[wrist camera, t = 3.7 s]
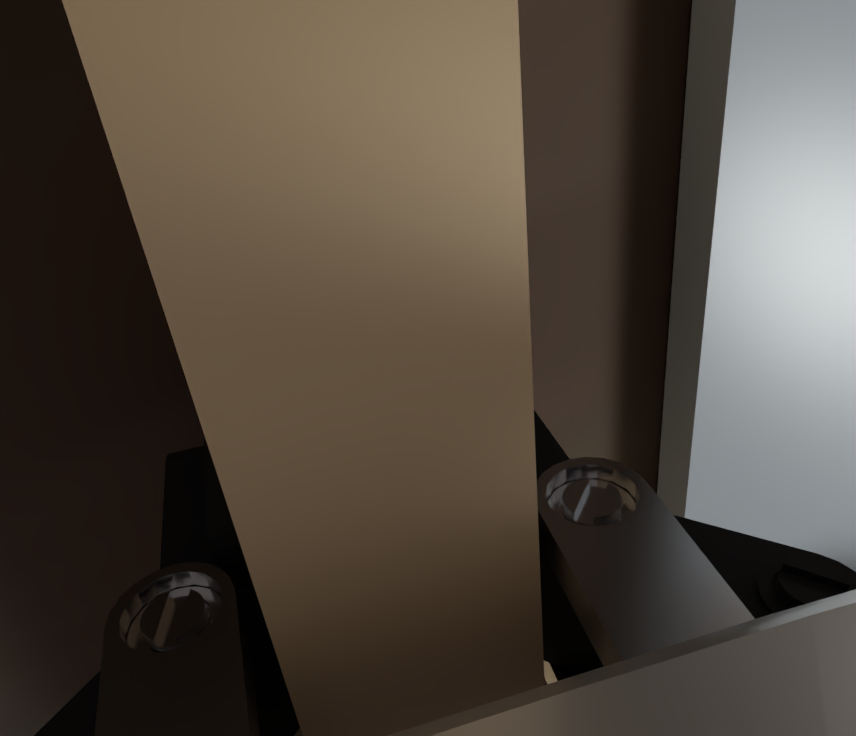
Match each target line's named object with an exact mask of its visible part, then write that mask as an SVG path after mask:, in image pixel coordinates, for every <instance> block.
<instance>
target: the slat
mask: <svg viewBox="0 0 856 736" xmlns="http://www.w3.org/2000/svg"><path fill="white" fill-rule="evenodd" d="M62 2H63V5H64V8H65V11H66V14H67V17H68V20H69V24H70V27H71V30H72V33H73V36H74V39H75V42H76V45H77V48H78V51H79V54H80V57H81V60H82V63H83V66H84V69H85V72H86V75H87V78H88V82H89V85H90V88H91V91H92V94H93V97H94V100H95V103H96V106H97V109H98V112H99V115H100V118H101V121H102V124H103V127H104V130H105V133H106V136H107V140H108V143H109V146H110V149H111V152H112V155H113V158H114V161H115V164H116V167H117V170H118V173H119V176H120V179H121V182H122V185H123V188H124V191H125V194H126V197H127V201H128V204H129V207H130V210H131V213H132V216H133V219H134V222H135V225H136V228H137V231H138V234H139V237H140V240H141V243H142V246H143V249H144V252H145V255H146V259H147V262H148V265H149V268H150V271H151V274H152V277H153V280H154V283H155V286H156V289H157V292H158V295H159V298H160V301H161V304H162V307H163V310H164V313H165V317H166V320H167V323H168V326H169V329H170V332H171V335H172V338H173V341H174V344H175V347H176V350H177V353H178V356H179V359H180V362H181V365H182V368H183V371H184V375H185V378H186V381H187V384H188V387H189V390H190V393H191V396H192V399H193V402H194V405H195V408H196V411H197V414H198V417H199V420H200V423H201V426H202V429H203V433H204V436H205V439H206V442H207V445H208V448H209V451H210V454H211V457H212V460H213V463H214V466H215V469H216V472H217V475H218V478H219V481H220V484H221V487H222V491H223V494H224V497H225V500H226V503H227V506H228V509H229V512H230V515H231V518H232V521H233V524H234V527H235V530H236V533H237V536H238V539H239V542H240V545H241V549H242V552H243V555H244V558H245V561H246V564H247V567H248V570H249V573H250V576H251V579H252V582H253V585H254V588H255V591H256V594H257V597H258V600H259V603H260V606H261V610H262V613H263V616H264V619H265V622H266V625H267V628H268V631H269V634H270V637H271V640H272V643H273V646H274V649H275V652H276V655H277V658H278V661H279V664H280V668H281V671H282V674H283V677H284V680H285V683H286V686H287V689H288V692H289V695H290V698H291V701H292V704H293V707H294V710H295V713H296V716H297V719H298V722H299V726H300V729H301V732H302V735H303V736H388V735H391V734H394V733H397V732H400V731H404V730H407V729H410V728H413V727H416V726H419V725H422V724H425V723H428V722H432V721H435V720H438V719H441V718H444V717H447V716H450V715H453V714H457V713H460V712H463V711H466V710H469V709H472V708H475V707H478V706H482V705H485V704H488V703H491V702H494V701H497V700H500V699H503V698H507V697H510V696H513V695H516V694H519V693H522V692H525V691H528V690H532V689H535V688H538V687H541V686H544V685H545V682H544V656H543V631H542V605H541V580H540V554H539V529H538V503H537V478H536V452H535V427H534V401H533V376H532V350H531V325H530V299H529V274H528V248H527V223H526V197H525V172H524V146H523V121H522V95H521V70H520V44H519V19H518V0H62Z"/></svg>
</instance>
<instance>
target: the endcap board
mask: <svg viewBox="0 0 856 736" xmlns="http://www.w3.org/2000/svg"><path fill="white" fill-rule="evenodd" d="M657 495H658V497H659V498H660V499H661V500H662V502H663V503H664V504H665V506H666V507H667V508H668V509H669V511H670V512H671V513H672V514H673V515H676V516H680V517H683V518H687V519H691V520H695V521H698V522H702V523H706V524H709V525H713V526H717V527H721V528H724V529H728V530H732V531H735V532H739V533H743V534H747V535H750V536H754V537H758V538H761V539H765V540H769V541H773V542H776V543H780V544H784V545H788V546H791V547H795V548H799V549H802V550H806V551H810V552H814V553H817V554H820V555H823V556H826V557H828V558H831V559H834V560H836V561H839V562H840V563H842V564H844V565H845V566H847V567H849V568H850V569H852V570H854V571H855V572H856V0H692V12H691V26H690V40H689V54H688V68H687V82H686V96H685V109H684V123H683V137H682V151H681V165H680V179H679V193H678V207H677V221H676V235H675V249H674V263H673V277H672V291H671V305H670V319H669V333H668V347H667V361H666V374H665V388H664V402H663V416H662V430H661V444H660V458H659V472H658V486H657Z"/></svg>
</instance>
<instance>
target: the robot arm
mask: <svg viewBox="0 0 856 736" xmlns="http://www.w3.org/2000/svg"><path fill="white" fill-rule="evenodd" d="M534 427H535V452H536V478H537V503H538V529H539V554H540V580H541V605H542V631H543V656H544V677H545V679H546V682H547V685H544V686H541V687H538V688H535V689H532V690H528V691H525V692H522V693H519V694H516V695H513V696H510V697H507V698H503V699H500V700H497V701H494V702H491V703H488V704H485V705H482V706H478V707H475V708H472V709H469V710H466V711H463V712H460V713H457V714H453V715H450V716H447V717H444V718H441V719H438V720H435V721H432V722H428V723H425V724H422V725H419V726H416V727H413V728H410V729H407V730H404V731H400V732H397V733H394V734H391V735H388V736H856V572H855V571H854V570H852V569H850V568H849V567H847V566H845V565H844V564H842V563H840V562H839V561H836V560H834V559H831V558H828V557H826V556H823V555H820V554H817V553H814V552H810V551H806V550H802V549H799V548H795V547H791V546H788V545H784V544H780V543H776V542H773V541H769V540H765V539H761V538H758V537H754V536H750V535H747V534H743V533H739V532H735V531H732V530H728V529H724V528H721V527H717V526H713V525H709V524H706V523H702V522H698V521H695V520H691V519H687V518H683V517H680V516H676V515H673V514H672V513H671V512H670V511H669V509H668V508H667V507H666V506H665V504H664V503H663V502H662V500H661V499H660V498H659V497H658V495H657V494H656V493H655V492H654V490H653V489H652V488H651V487H650V485H649V484H648V483H647V481H646V480H645V479H644V478H643V477H642V476H640V475H639V474H638V473H637V472H636V471H635V470H633V469H632V468H630V467H628V466H626V465H624V464H622V463H620V462H616V461H612V460H608V459H605V458H593V457H582V458H575V459H569V458H568V456H567V455H566V454H565V452H564V451H563V449H562V448H561V447H560V445H559V444H558V443H557V441H556V440H555V438H554V437H553V436H552V434H551V433H550V431H549V430H548V429H547V427H546V426H545V424H544V423H543V422H542V420H541V419H540V418H539V416H538V415H537V413H536V412H535V411H534ZM299 728H300V726H299V722H298V719H297V716H296V713H295V710H294V707H293V704H292V701H291V698H290V695H289V692H288V689H287V686H286V683H285V680H284V677H283V674H282V671H281V668H280V664H279V661H278V658H277V655H276V652H275V649H274V646H273V643H272V640H271V637H270V634H269V631H268V628H267V625H266V622H265V619H264V616H263V613H262V610H261V606H260V603H259V600H258V597H257V594H256V591H255V588H254V585H253V582H252V579H251V576H250V573H249V570H248V567H247V564H246V561H245V558H244V555H243V552H242V549H241V545H240V542H239V539H238V536H237V533H236V530H235V527H234V524H233V521H232V518H231V515H230V512H229V509H228V506H227V503H226V500H225V497H224V494H223V491H222V487H221V484H220V481H219V478H218V475H217V472H216V469H215V466H214V463H213V460H212V457H211V454H210V451H209V448H208V445H207V442H206V439H205V436H204V446H200V447H196V448H192V449H187V450H183V451H179V452H175V453H171V454H168V455H167V458H166V467H165V486H164V506H163V525H162V545H161V564H160V570H158V571H155V572H153V573H151V574H149V575H148V576H146V577H144V578H143V579H141V580H140V581H138V582H136V583H135V584H134V585H133V586H132V587H130V588H129V589H128V590H127V591H126V592H125V593H124V594H123V595H122V596H121V597H120V598H119V599H118V601H117V602H116V604H115V606H114V607H113V609H112V610H111V612H110V613H109V616H108V620H107V623H106V626H105V631H104V641H103V652H102V662H101V671H100V672H99V673H98V674H96V675H95V676H94V677H93V678H92V679H91V680H90V681H89V682H88V683H87V684H86V685H85V686H84V687H83V688H82V689H81V690H80V691H79V692H78V693H77V694H76V695H75V696H74V697H73V698H72V699H71V700H70V701H69V702H68V703H67V704H66V705H65V706H64V707H63V708H62V709H61V710H60V711H59V712H58V713H57V714H56V715H55V716H54V717H53V718H52V719H51V720H50V721H49V722H48V723H47V724H46V725H44V726H43V727H42V728H41V729H40V730H39V731H38V732H37V733H36V734H35V735H34V736H294V735H295V733H296V732H297V730H298V729H299Z"/></svg>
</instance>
